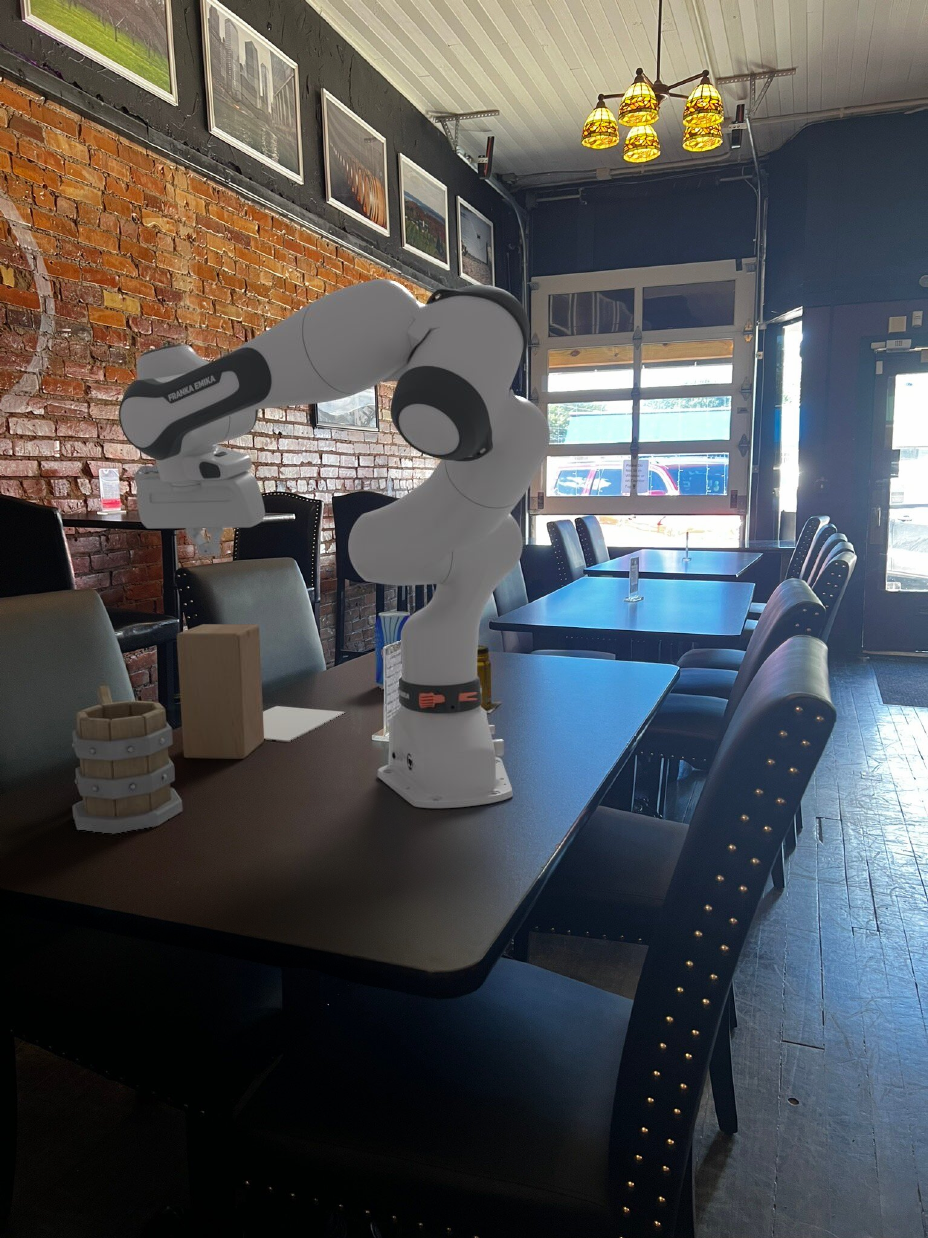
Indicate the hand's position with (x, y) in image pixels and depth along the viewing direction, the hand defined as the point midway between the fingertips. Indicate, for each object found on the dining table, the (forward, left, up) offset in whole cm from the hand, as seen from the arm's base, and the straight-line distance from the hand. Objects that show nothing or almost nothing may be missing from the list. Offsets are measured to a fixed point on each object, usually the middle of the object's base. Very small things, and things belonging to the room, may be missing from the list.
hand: (210, 555), depth 128 cm
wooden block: (+6, -1, -32) cm, 33 cm away
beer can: (+43, -36, -32) cm, 65 cm away
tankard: (-16, +12, -32) cm, 38 cm away
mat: (+20, -10, -32) cm, 39 cm away
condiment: (+21, -48, -32) cm, 61 cm away
